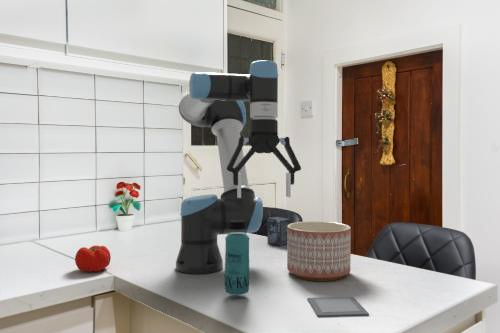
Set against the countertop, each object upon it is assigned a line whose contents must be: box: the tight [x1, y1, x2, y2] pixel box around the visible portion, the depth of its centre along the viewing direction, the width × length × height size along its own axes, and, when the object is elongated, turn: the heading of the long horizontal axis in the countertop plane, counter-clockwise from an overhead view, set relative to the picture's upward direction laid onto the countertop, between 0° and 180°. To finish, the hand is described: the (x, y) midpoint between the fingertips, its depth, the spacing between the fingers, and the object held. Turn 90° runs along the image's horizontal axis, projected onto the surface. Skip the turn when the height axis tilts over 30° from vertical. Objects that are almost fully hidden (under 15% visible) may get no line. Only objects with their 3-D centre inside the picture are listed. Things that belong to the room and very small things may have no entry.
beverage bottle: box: [224, 220, 251, 296], centre depth 116 cm, size 6×7×20 cm
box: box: [267, 216, 291, 247], centre depth 181 cm, size 8×6×11 cm
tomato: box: [74, 245, 112, 273], centre depth 142 cm, size 11×11×8 cm
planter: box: [286, 220, 352, 282], centre depth 137 cm, size 19×19×15 cm
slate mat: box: [306, 296, 370, 318], centre depth 109 cm, size 12×12×1 cm
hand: (263, 197), depth 122 cm, fingers open, 13 cm apart
